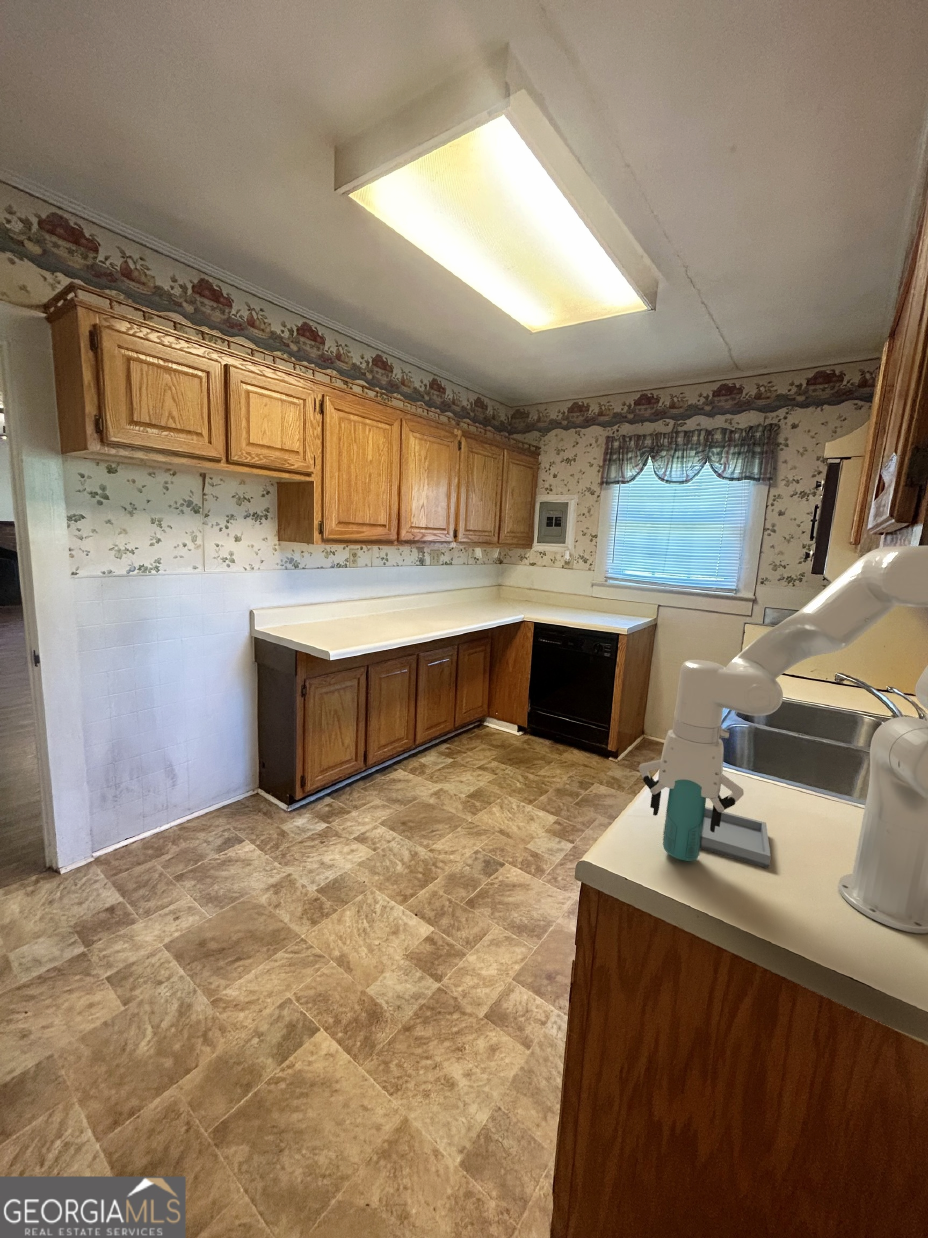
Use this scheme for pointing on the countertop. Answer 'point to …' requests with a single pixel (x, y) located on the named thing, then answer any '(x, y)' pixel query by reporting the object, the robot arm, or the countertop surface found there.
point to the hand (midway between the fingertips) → (683, 820)
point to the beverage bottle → (684, 820)
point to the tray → (737, 838)
